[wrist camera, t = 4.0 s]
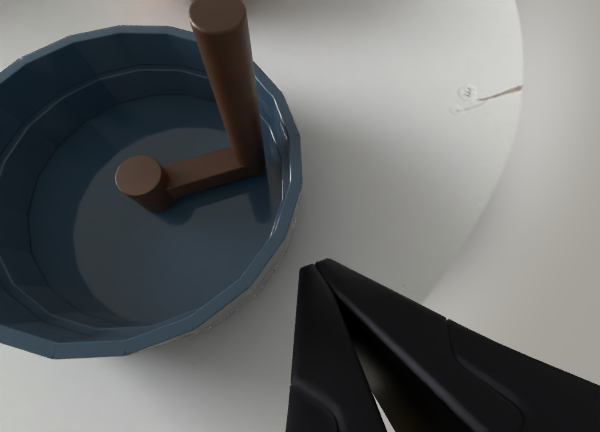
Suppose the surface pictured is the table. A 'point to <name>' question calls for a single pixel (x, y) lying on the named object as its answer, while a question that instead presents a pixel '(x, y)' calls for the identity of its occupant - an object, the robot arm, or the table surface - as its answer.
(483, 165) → the table surface
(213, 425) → the table surface
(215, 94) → the crank handle
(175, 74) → the bowl
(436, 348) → the robot arm
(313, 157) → the table surface
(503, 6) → the table surface
